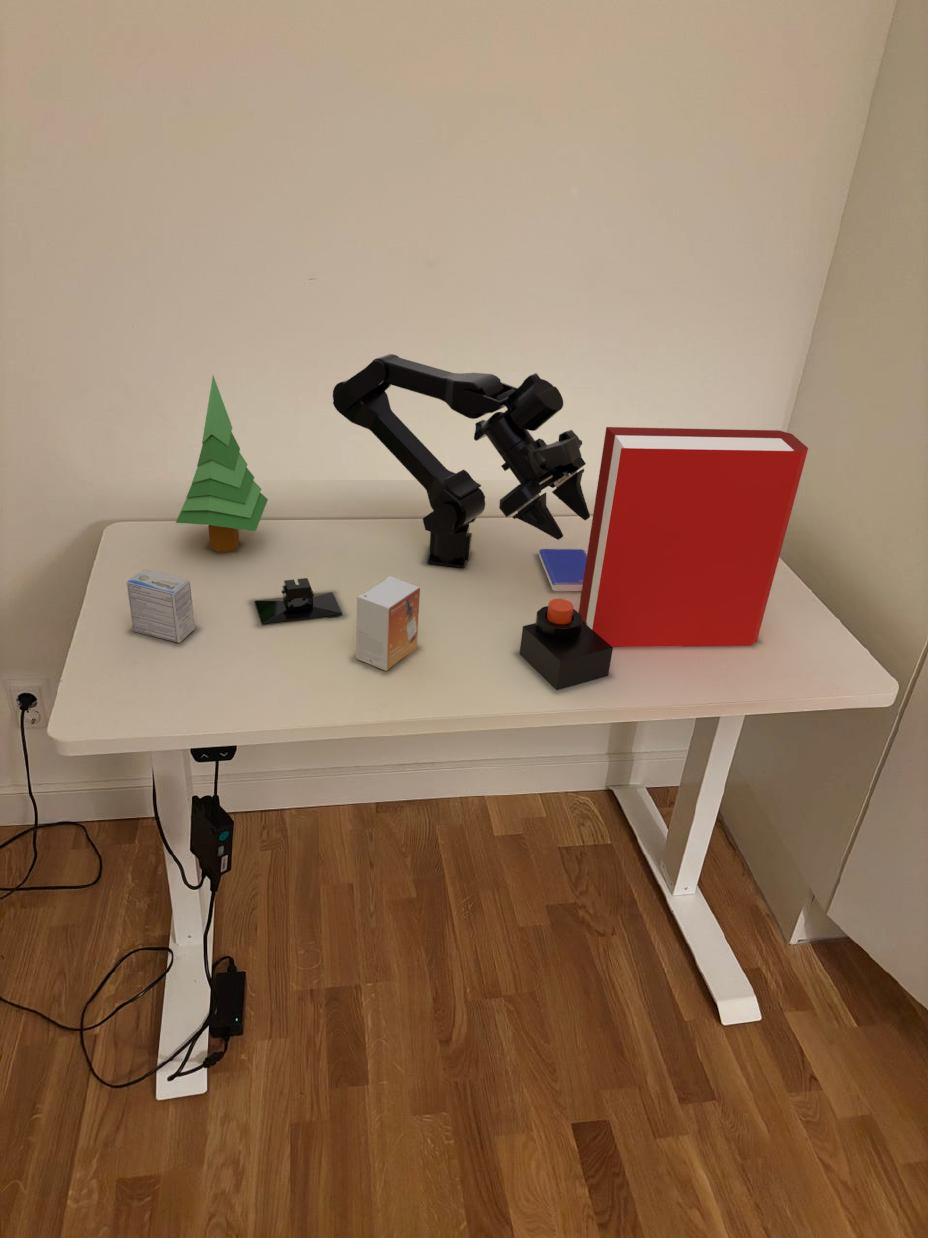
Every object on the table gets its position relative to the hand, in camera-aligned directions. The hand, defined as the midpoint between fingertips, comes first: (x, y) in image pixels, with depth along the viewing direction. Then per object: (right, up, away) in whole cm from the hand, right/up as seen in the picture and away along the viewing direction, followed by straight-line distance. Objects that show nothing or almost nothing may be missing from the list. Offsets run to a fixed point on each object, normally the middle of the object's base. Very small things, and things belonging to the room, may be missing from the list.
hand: (574, 528), depth 151 cm
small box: (-29, -19, -10) cm, 36 cm away
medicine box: (-61, -16, -9) cm, 64 cm away
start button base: (-3, -21, -9) cm, 23 cm away
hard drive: (+1, -6, +15) cm, 17 cm away
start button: (-4, -14, -11) cm, 18 cm away
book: (+15, -16, +1) cm, 22 cm away
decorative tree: (-58, -2, +15) cm, 60 cm away
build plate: (-43, -13, -1) cm, 45 cm away
